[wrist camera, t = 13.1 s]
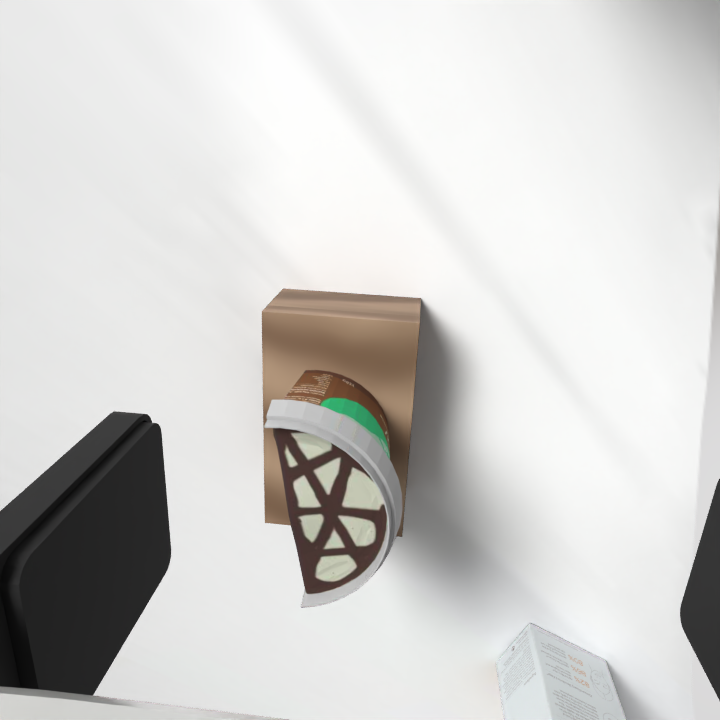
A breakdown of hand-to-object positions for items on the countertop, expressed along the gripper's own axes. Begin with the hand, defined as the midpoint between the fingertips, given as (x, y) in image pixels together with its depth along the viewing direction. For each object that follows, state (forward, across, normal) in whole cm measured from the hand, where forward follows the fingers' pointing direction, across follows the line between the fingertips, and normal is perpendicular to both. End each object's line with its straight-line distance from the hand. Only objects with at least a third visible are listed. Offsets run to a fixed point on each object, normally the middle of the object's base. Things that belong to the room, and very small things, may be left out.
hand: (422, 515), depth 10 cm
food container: (+28, +3, +13) cm, 31 cm away
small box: (+34, -14, +37) cm, 52 cm away
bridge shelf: (+33, +5, +13) cm, 36 cm away
